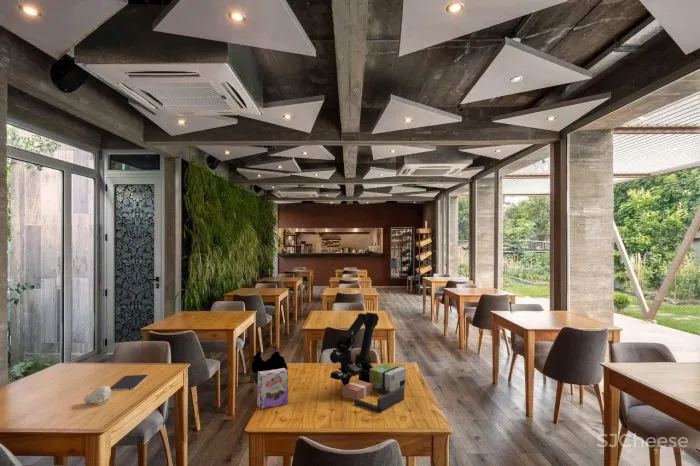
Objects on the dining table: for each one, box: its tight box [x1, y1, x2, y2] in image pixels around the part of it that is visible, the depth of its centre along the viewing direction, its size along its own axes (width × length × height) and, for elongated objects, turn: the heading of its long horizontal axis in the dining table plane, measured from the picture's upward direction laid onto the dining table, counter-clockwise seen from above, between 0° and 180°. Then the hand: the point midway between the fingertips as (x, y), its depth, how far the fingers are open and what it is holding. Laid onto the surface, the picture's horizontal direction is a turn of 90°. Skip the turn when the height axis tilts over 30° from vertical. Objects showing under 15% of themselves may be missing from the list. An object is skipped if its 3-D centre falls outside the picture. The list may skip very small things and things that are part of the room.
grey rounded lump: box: [83, 385, 112, 407], centre depth 194 cm, size 6×8×12 cm
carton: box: [341, 379, 374, 401], centre depth 206 cm, size 10×13×5 cm
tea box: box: [369, 362, 407, 392], centre depth 218 cm, size 15×10×15 cm
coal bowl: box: [250, 350, 289, 386], centre depth 217 cm, size 20×20×19 cm
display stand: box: [353, 386, 405, 414], centre depth 197 cm, size 16×21×6 cm
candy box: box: [256, 368, 289, 410], centre depth 193 cm, size 14×6×16 cm, turn 117°
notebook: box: [110, 374, 148, 392], centre depth 222 cm, size 13×2×21 cm
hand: (345, 388), depth 211 cm, fingers closed
